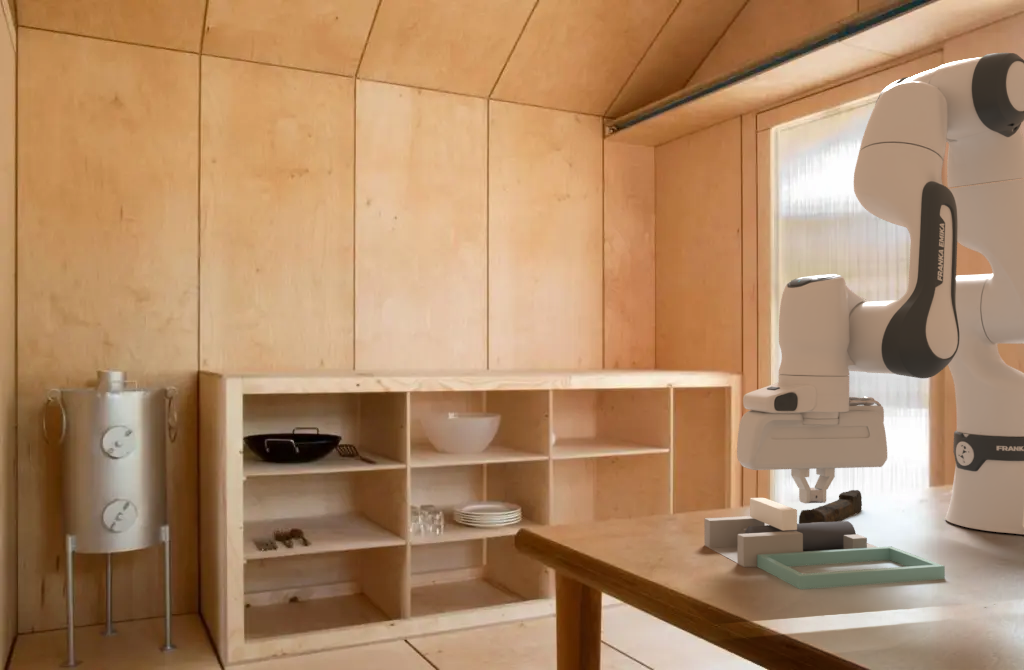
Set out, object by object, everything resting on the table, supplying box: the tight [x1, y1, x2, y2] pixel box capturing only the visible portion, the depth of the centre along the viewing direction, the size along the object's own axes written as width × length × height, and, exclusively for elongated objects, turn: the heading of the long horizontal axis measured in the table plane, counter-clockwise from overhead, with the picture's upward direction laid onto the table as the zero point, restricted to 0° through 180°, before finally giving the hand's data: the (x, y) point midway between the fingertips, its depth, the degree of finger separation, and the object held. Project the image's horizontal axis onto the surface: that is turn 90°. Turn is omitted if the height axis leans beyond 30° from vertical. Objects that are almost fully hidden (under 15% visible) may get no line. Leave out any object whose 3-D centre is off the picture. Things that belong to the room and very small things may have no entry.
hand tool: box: [798, 489, 863, 524], centre depth 133 cm, size 19×4×5 cm, turn 134°
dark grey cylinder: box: [745, 520, 857, 551], centre depth 112 cm, size 14×4×4 cm, turn 102°
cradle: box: [703, 515, 877, 568], centre depth 112 cm, size 22×11×5 cm, turn 102°
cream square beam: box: [749, 497, 798, 531], centre depth 112 cm, size 2×8×2 cm, turn 12°
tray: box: [756, 545, 946, 590], centre depth 102 cm, size 19×10×3 cm, turn 103°
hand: (812, 502), depth 113 cm, fingers closed
